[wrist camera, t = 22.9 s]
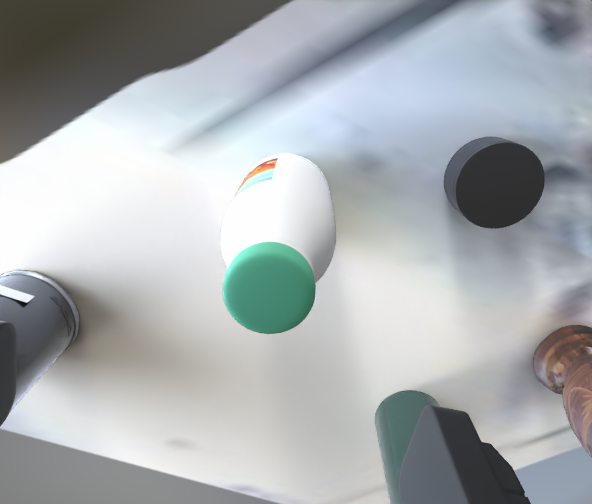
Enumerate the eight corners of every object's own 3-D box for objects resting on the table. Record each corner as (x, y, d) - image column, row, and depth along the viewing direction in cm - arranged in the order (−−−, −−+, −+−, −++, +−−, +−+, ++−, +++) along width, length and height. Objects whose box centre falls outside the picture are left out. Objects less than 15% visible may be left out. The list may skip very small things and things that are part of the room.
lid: (450, 135, 40) (462, 140, 36) (533, 138, 39) (553, 144, 36) (438, 215, 42) (449, 226, 39) (517, 218, 42) (534, 230, 39)
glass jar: (380, 449, 51) (410, 603, 36) (369, 396, 49) (396, 538, 34) (445, 438, 51) (503, 591, 36) (437, 384, 48) (495, 524, 33)
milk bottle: (312, 138, 40) (315, 195, 21) (342, 220, 42) (368, 337, 24) (228, 170, 41) (161, 252, 22) (262, 249, 44) (227, 381, 25)
